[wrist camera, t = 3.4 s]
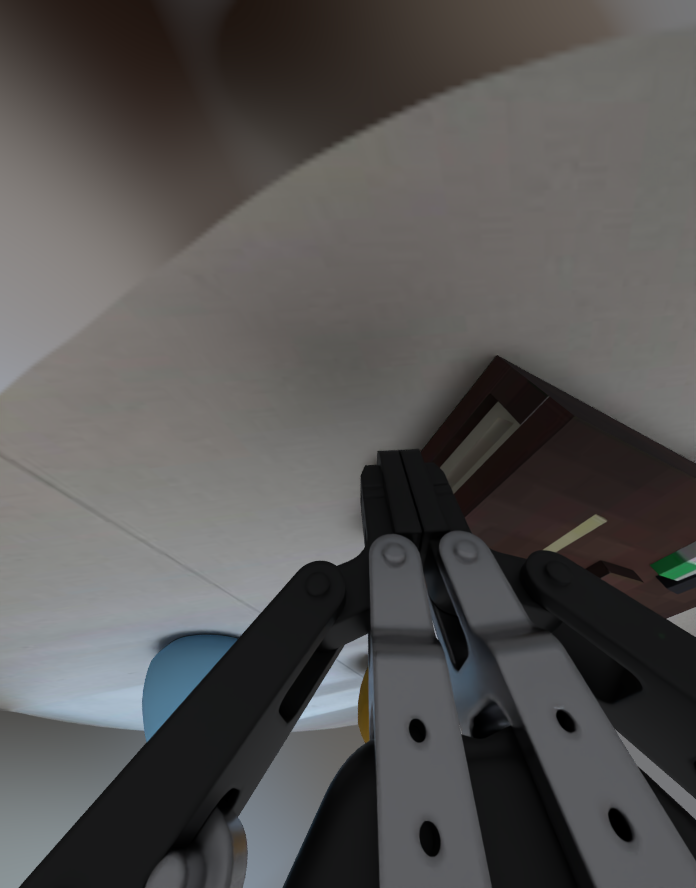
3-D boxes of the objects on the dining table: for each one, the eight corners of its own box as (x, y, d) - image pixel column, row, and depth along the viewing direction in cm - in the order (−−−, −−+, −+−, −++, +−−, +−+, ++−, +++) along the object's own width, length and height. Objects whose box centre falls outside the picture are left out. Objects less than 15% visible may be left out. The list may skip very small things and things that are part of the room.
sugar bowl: (235, 623, 37) (202, 755, 28) (281, 660, 46) (268, 769, 37) (133, 640, 39) (71, 769, 30) (197, 672, 48) (164, 779, 38)
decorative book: (575, 375, 9) (895, 560, 18) (479, 316, 15) (754, 477, 24) (334, 617, 20) (613, 661, 28) (334, 525, 26) (563, 584, 34)
